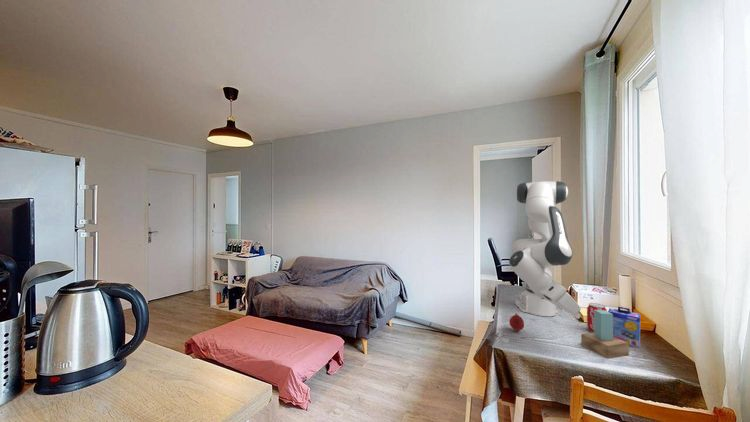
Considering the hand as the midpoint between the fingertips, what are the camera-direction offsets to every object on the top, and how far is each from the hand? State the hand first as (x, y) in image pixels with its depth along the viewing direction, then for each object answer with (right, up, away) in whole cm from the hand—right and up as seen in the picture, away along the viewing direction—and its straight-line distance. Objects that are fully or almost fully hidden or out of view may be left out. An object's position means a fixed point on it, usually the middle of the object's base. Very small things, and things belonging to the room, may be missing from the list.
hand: (569, 312), depth 106 cm
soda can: (+23, -15, +16) cm, 32 cm away
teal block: (+12, -10, -1) cm, 16 cm away
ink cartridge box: (+27, -15, +7) cm, 31 cm away
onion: (-13, -14, +15) cm, 25 cm away
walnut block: (+12, -15, -1) cm, 19 cm away
